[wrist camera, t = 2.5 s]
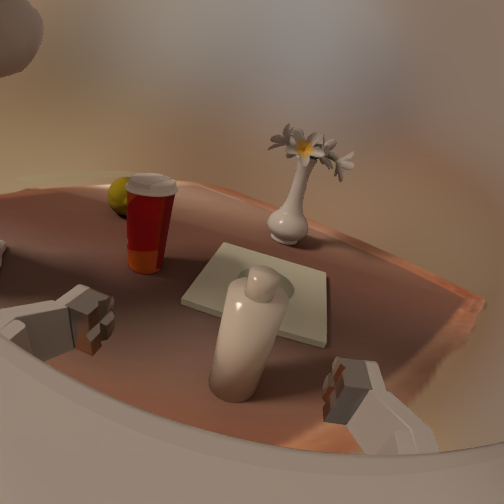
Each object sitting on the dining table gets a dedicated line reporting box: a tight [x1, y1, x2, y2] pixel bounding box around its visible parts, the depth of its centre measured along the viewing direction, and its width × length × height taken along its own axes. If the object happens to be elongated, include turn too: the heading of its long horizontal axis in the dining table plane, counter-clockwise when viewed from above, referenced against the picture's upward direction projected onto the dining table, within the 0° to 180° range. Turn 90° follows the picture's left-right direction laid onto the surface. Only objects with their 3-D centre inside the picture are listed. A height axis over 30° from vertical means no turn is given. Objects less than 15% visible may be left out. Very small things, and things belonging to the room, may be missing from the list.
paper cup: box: [125, 173, 178, 274], centre depth 42 cm, size 8×8×14 cm
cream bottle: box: [209, 265, 289, 403], centre depth 26 cm, size 5×5×14 cm
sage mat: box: [181, 242, 327, 348], centre depth 47 cm, size 20×20×1 cm
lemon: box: [108, 177, 130, 216], centre depth 59 cm, size 11×8×8 cm
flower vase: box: [267, 124, 354, 245], centre depth 62 cm, size 13×18×25 cm
